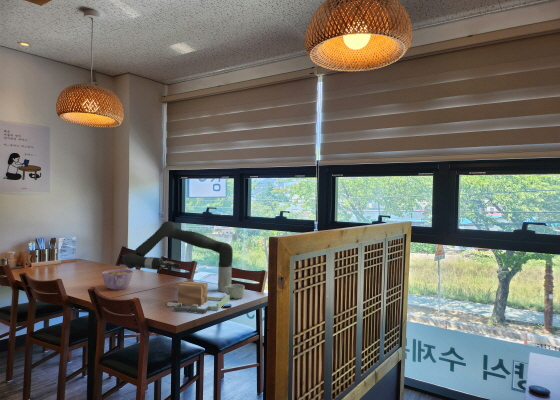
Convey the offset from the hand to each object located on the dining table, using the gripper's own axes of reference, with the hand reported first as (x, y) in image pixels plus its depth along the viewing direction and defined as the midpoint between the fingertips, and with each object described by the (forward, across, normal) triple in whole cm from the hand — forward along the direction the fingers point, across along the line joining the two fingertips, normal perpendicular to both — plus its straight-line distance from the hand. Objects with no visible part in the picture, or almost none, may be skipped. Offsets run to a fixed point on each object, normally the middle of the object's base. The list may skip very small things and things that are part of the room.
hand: (179, 265), depth 239 cm
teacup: (+30, +19, +22) cm, 42 cm away
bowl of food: (-54, +21, +24) cm, 63 cm away
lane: (+14, -3, +22) cm, 26 cm away
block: (+10, 0, +22) cm, 24 cm away
